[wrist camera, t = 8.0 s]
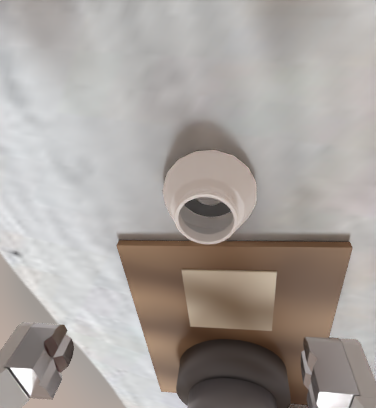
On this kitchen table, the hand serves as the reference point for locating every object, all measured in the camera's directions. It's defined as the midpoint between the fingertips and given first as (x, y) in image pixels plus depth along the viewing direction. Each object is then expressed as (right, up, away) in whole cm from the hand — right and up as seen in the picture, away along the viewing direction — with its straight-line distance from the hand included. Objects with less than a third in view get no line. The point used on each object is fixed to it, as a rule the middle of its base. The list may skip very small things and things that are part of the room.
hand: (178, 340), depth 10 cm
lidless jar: (+2, +6, +7) cm, 9 cm away
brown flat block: (+4, -6, +13) cm, 15 cm away
